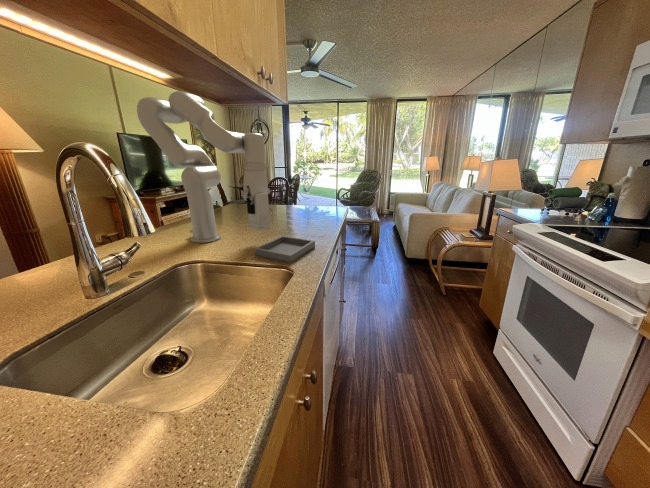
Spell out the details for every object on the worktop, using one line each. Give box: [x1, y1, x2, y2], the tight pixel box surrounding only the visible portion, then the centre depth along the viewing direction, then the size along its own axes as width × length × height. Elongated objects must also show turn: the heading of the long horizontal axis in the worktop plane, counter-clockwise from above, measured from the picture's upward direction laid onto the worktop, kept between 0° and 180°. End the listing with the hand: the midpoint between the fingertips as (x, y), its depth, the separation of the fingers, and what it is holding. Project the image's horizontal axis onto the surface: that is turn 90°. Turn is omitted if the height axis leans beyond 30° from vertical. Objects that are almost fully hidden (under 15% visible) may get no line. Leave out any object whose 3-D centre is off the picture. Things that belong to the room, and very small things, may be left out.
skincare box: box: [247, 193, 271, 231], centre depth 108 cm, size 8×6×15 cm
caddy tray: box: [254, 235, 316, 265], centre depth 103 cm, size 16×18×3 cm
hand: (257, 211), depth 109 cm, fingers closed on skincare box, 7 cm apart
